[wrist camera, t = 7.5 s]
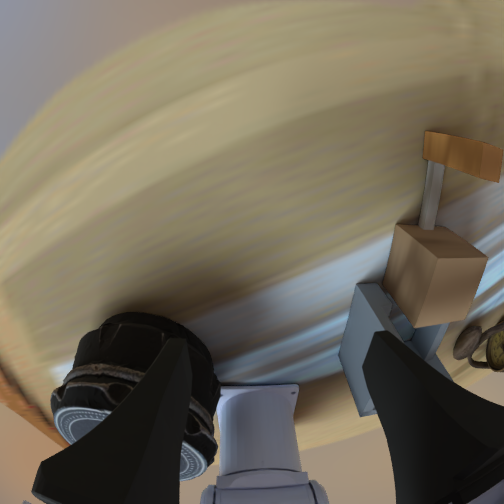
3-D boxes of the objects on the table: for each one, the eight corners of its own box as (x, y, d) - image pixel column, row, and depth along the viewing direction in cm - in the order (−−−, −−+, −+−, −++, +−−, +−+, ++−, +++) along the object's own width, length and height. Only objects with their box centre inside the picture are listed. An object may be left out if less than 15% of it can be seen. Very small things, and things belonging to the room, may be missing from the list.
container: (76, 290, 20) (16, 377, 11) (231, 315, 22) (229, 430, 13) (99, 386, 26) (73, 461, 17) (216, 407, 27) (213, 491, 18)
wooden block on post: (430, 281, 21) (468, 323, 16) (382, 284, 21) (417, 333, 16) (458, 140, 16) (515, 154, 11) (408, 126, 16) (466, 136, 10)
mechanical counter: (494, 395, 24) (548, 350, 19) (462, 399, 20) (537, 339, 15) (477, 354, 30) (526, 309, 24) (441, 345, 26) (506, 285, 20)
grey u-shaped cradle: (422, 343, 25) (453, 391, 18) (338, 355, 24) (360, 417, 18) (448, 278, 21) (493, 325, 15) (356, 283, 21) (394, 345, 15)
